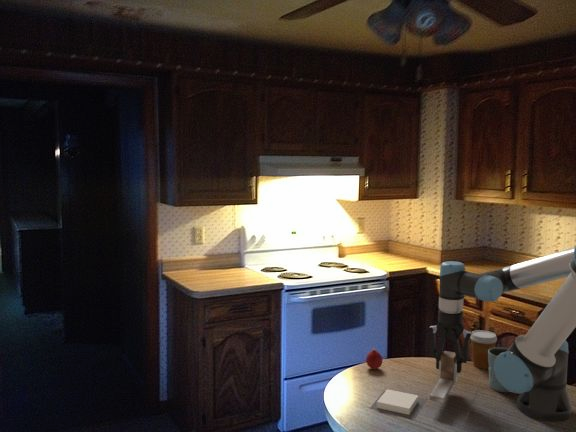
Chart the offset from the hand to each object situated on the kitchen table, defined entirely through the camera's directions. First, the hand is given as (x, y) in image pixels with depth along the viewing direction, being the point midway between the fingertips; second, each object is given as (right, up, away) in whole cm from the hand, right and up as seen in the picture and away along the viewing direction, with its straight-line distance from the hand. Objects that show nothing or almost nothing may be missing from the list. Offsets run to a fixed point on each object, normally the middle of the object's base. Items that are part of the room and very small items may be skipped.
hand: (448, 380), depth 180 cm
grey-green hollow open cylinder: (+20, -4, +6) cm, 21 cm away
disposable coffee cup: (+19, -2, +24) cm, 31 cm away
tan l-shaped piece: (-3, -1, -6) cm, 7 cm away
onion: (-21, -3, +20) cm, 29 cm away
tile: (-16, -4, -4) cm, 17 cm away
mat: (-18, -6, -7) cm, 20 cm away
